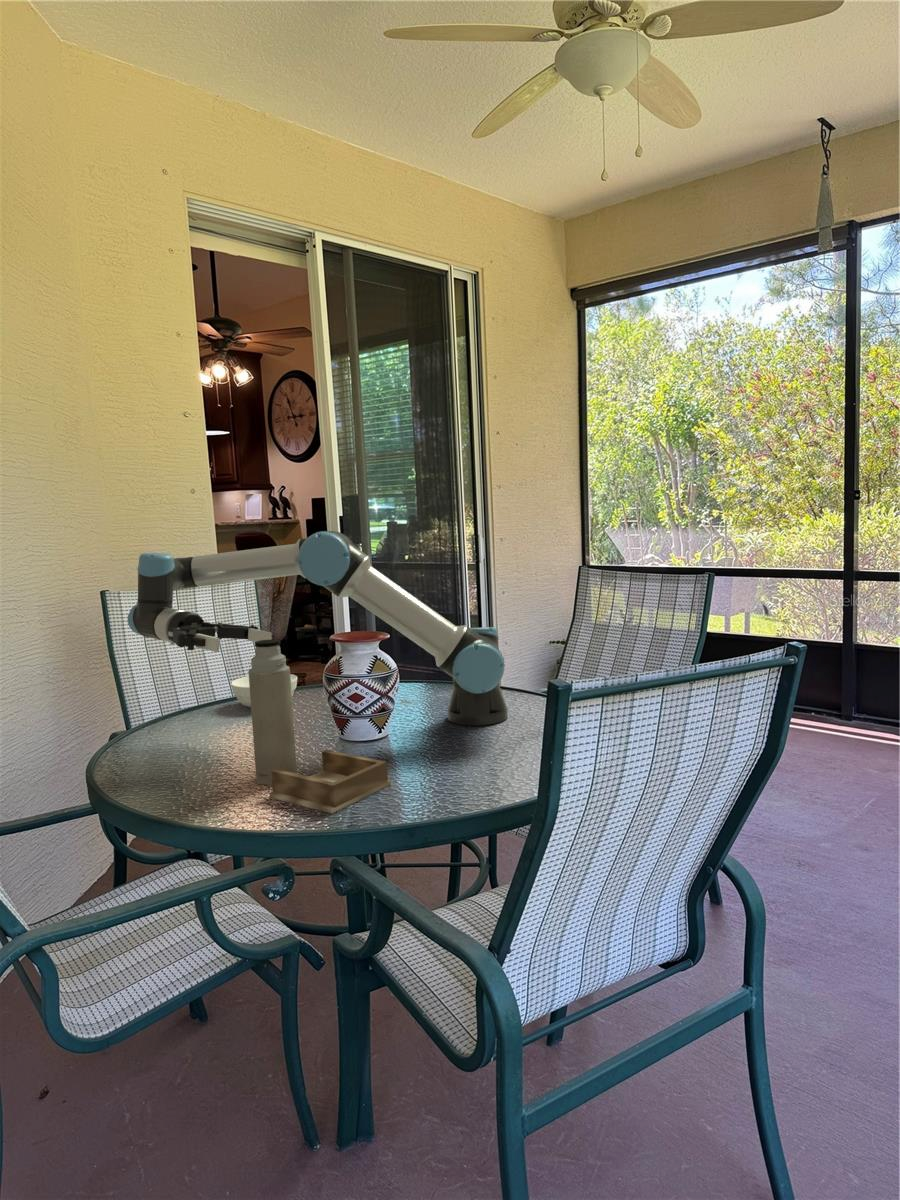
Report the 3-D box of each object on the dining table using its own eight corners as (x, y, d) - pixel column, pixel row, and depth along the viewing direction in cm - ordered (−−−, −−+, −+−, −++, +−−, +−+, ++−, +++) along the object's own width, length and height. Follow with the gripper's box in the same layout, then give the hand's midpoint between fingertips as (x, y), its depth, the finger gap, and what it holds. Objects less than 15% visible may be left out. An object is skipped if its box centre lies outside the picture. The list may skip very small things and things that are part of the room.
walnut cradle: (269, 797, 140) (268, 772, 139) (330, 771, 153) (328, 748, 152) (332, 813, 130) (330, 787, 130) (390, 784, 143) (389, 760, 143)
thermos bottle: (248, 779, 150) (238, 641, 147) (282, 768, 156) (273, 636, 153) (270, 788, 145) (260, 645, 142) (304, 776, 150) (295, 639, 147)
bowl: (258, 695, 224) (256, 672, 223) (311, 698, 217) (309, 674, 217) (219, 711, 207) (217, 685, 206) (274, 715, 200) (273, 688, 200)
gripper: (225, 639, 176) (289, 653, 165) (128, 650, 156) (193, 667, 144) (227, 607, 176) (290, 619, 164) (129, 614, 155) (194, 628, 143)
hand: (245, 641), depth 154 cm, fingers open, 13 cm apart
